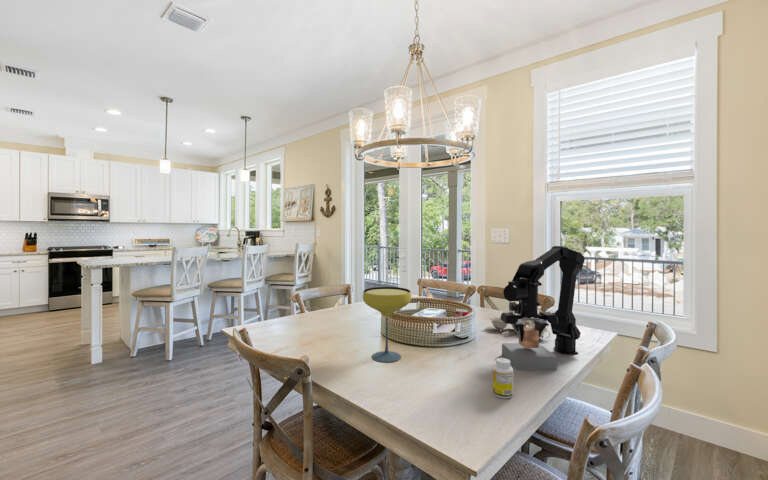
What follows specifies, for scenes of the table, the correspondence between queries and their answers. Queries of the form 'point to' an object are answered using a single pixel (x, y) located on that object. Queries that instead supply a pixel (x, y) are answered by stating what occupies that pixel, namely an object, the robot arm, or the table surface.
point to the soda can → (460, 312)
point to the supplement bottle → (503, 378)
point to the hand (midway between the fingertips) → (528, 341)
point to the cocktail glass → (386, 311)
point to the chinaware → (501, 325)
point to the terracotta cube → (530, 338)
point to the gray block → (529, 357)
